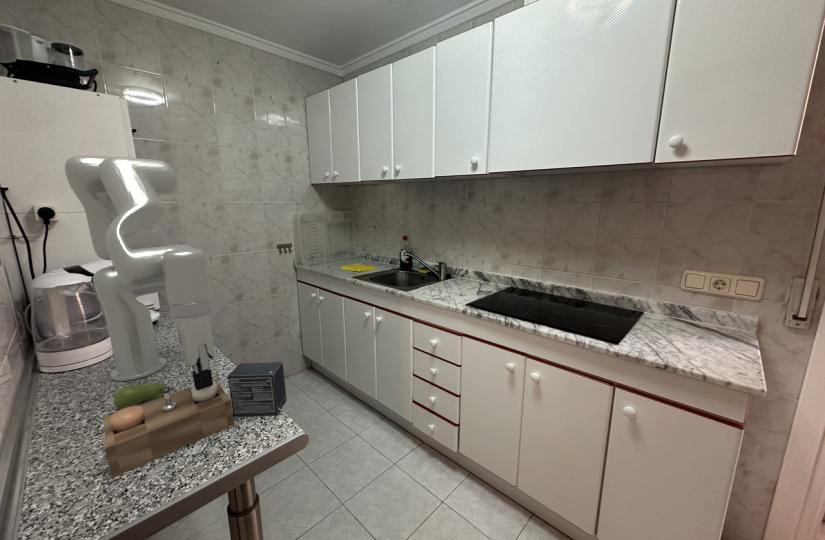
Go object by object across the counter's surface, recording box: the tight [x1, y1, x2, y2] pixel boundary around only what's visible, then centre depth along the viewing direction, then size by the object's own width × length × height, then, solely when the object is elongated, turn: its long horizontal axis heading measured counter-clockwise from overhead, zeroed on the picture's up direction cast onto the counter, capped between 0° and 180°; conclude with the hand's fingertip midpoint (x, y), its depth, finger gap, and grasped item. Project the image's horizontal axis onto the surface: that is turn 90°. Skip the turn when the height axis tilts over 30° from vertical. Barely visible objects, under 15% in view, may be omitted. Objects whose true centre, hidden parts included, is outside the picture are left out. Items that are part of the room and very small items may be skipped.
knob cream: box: [191, 381, 218, 404], centre depth 72 cm, size 5×5×8 cm
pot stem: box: [162, 386, 177, 412], centre depth 67 cm, size 2×2×5 cm
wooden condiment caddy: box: [103, 379, 235, 478], centre depth 68 cm, size 12×20×6 cm, turn 134°
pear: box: [113, 382, 167, 410], centre depth 79 cm, size 6×5×10 cm
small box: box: [226, 361, 287, 418], centre depth 76 cm, size 11×6×10 cm, turn 92°
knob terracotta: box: [110, 405, 144, 433], centre depth 63 cm, size 5×5×8 cm
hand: (204, 386), depth 71 cm, fingers closed
